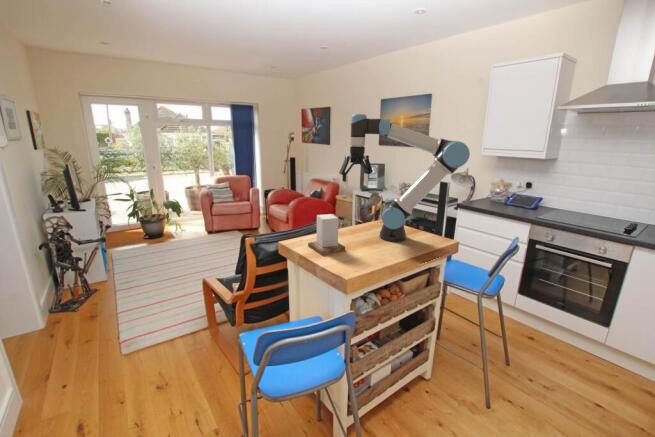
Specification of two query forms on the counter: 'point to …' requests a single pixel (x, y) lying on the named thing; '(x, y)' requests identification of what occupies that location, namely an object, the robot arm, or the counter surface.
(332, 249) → the walnut stand
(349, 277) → the counter surface
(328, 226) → the supplement box
